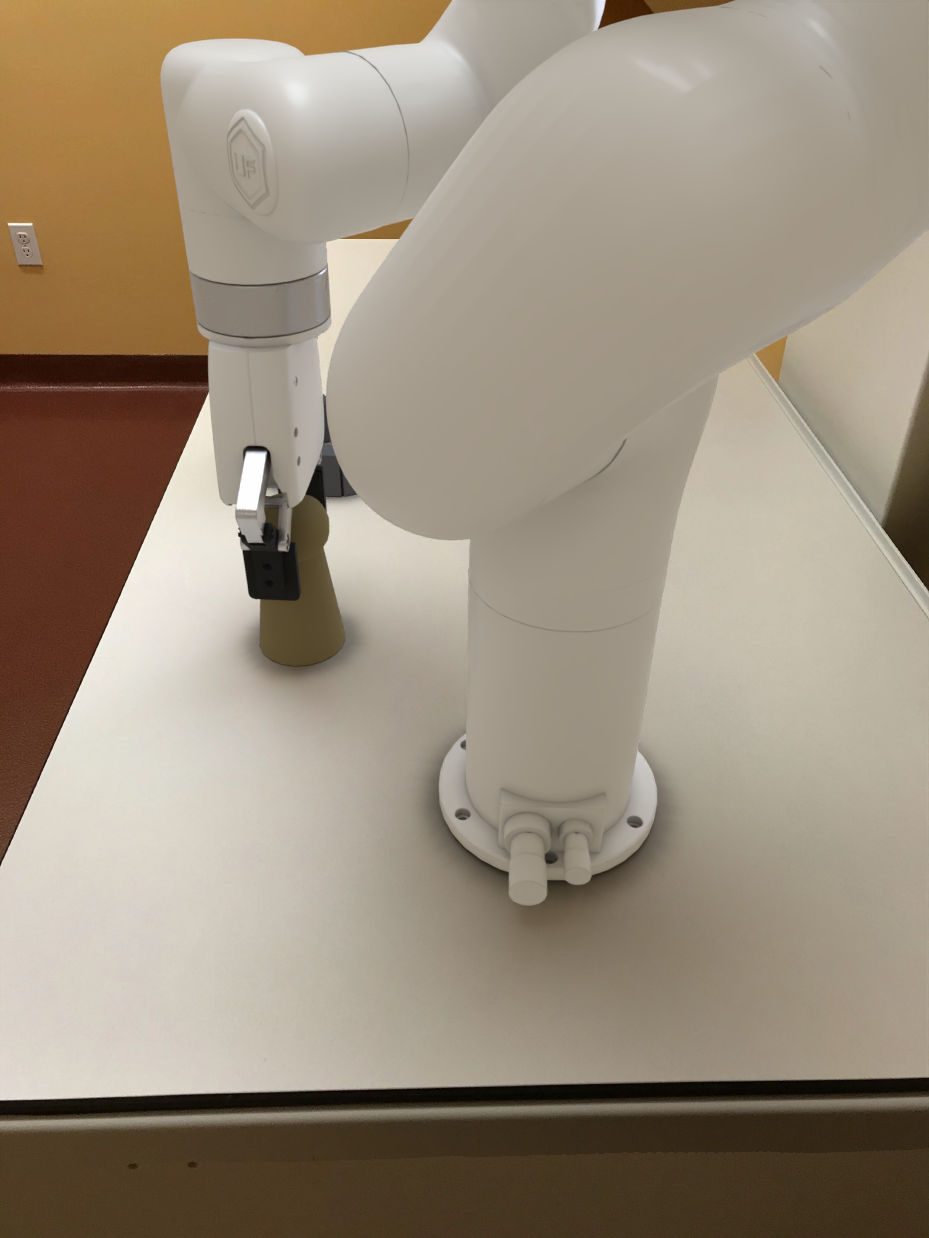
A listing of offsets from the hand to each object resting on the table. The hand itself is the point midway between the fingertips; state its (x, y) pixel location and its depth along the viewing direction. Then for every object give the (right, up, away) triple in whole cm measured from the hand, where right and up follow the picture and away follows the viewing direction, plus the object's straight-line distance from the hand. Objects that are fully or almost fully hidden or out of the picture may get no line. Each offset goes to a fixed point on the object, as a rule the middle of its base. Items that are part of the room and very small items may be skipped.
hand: (290, 555), depth 64 cm
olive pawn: (0, -6, +4) cm, 7 cm away
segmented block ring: (0, +10, +26) cm, 28 cm away
